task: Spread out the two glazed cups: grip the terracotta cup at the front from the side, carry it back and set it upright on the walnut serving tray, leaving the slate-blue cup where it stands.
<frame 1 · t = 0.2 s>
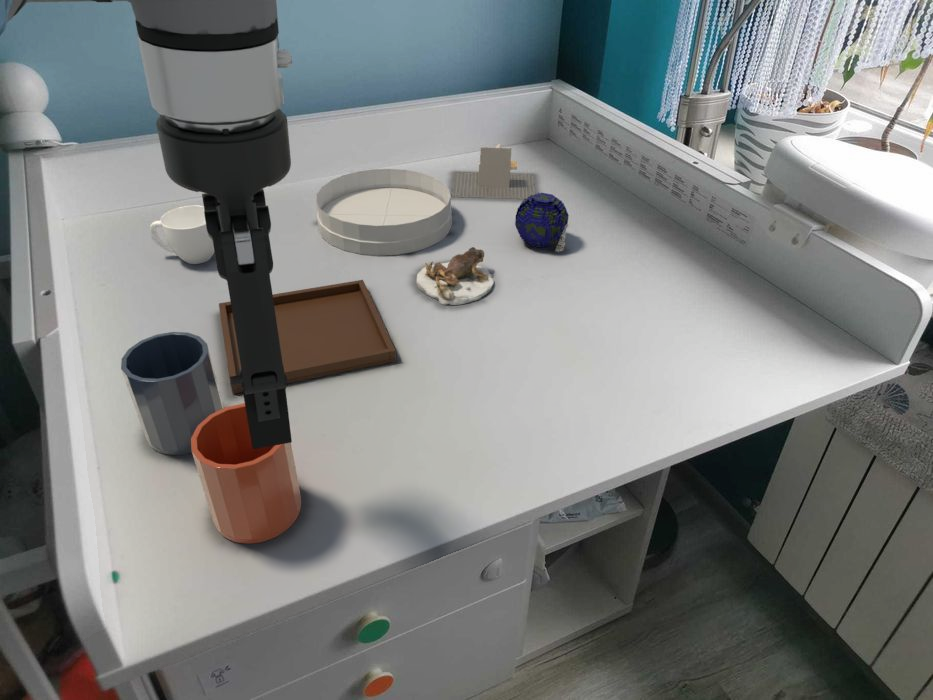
hand: (261, 382, 54), 18 cm above the table, tool pointing down, fingers open, 13 cm apart
frog figurine: (455, 282, 102), on the table
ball: (540, 243, 112), on the table
tray: (305, 336, 90), on the table
slate cup: (187, 428, 76), on the table
terracotta cup: (258, 509, 67), on the table
architectural model: (493, 185, 130), on the table
dish: (385, 224, 116), on the table
cup: (190, 258, 106), on the table
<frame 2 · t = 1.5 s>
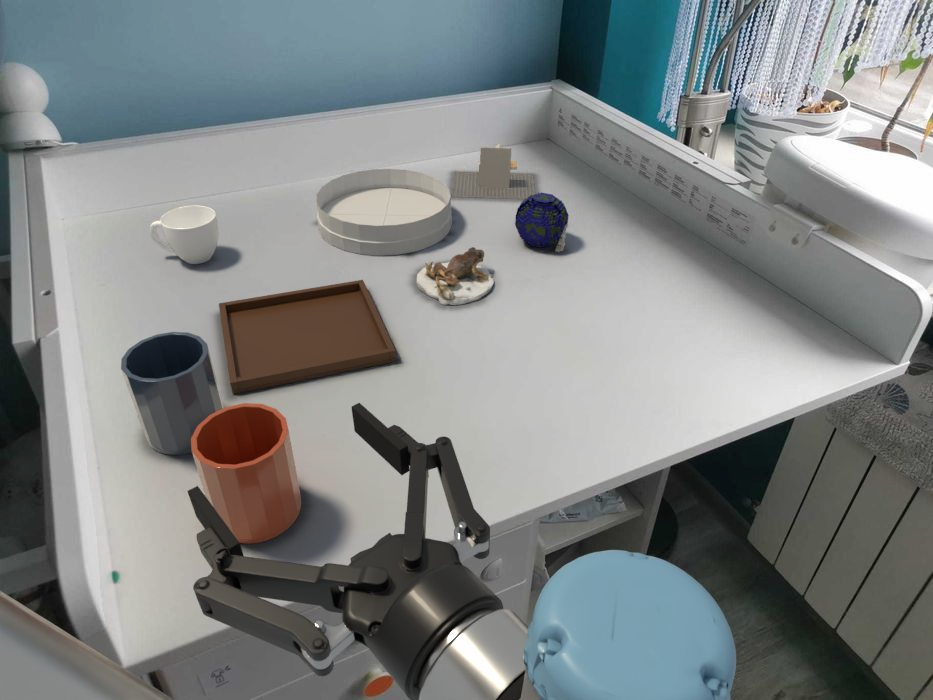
hand: (281, 456, 53), 14 cm above the table, tool horizontal, fingers open, 13 cm apart
nothing on the table moved.
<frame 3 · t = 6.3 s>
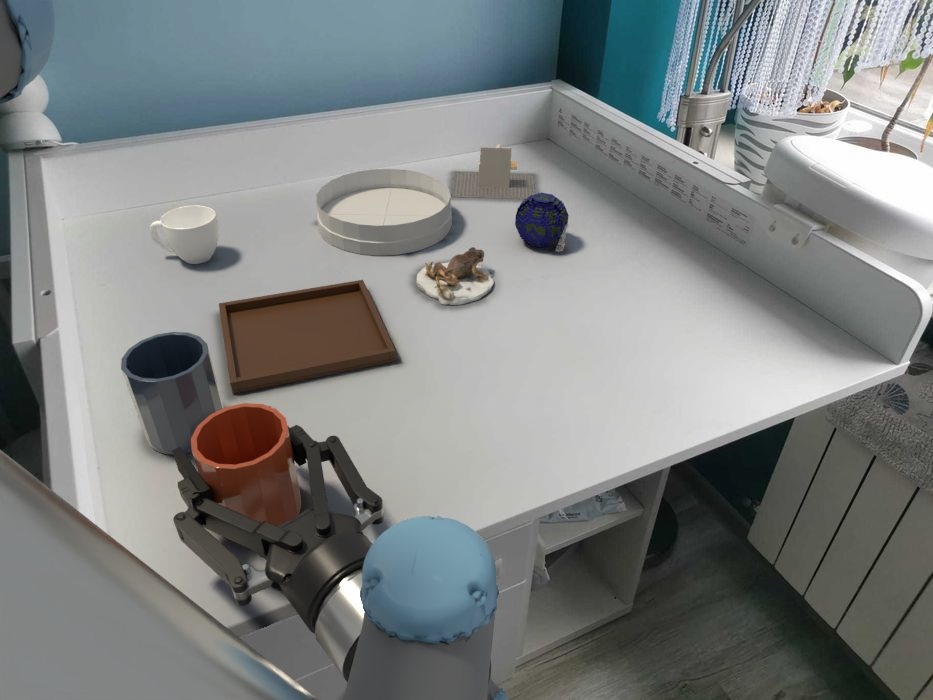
hand: (225, 437, 67), 6 cm above the table, tool horizontal, fingers closed on terracotta cup, 8 cm apart
terracotta cup: (258, 509, 67), on the table, touching gripper
everything else where it was.
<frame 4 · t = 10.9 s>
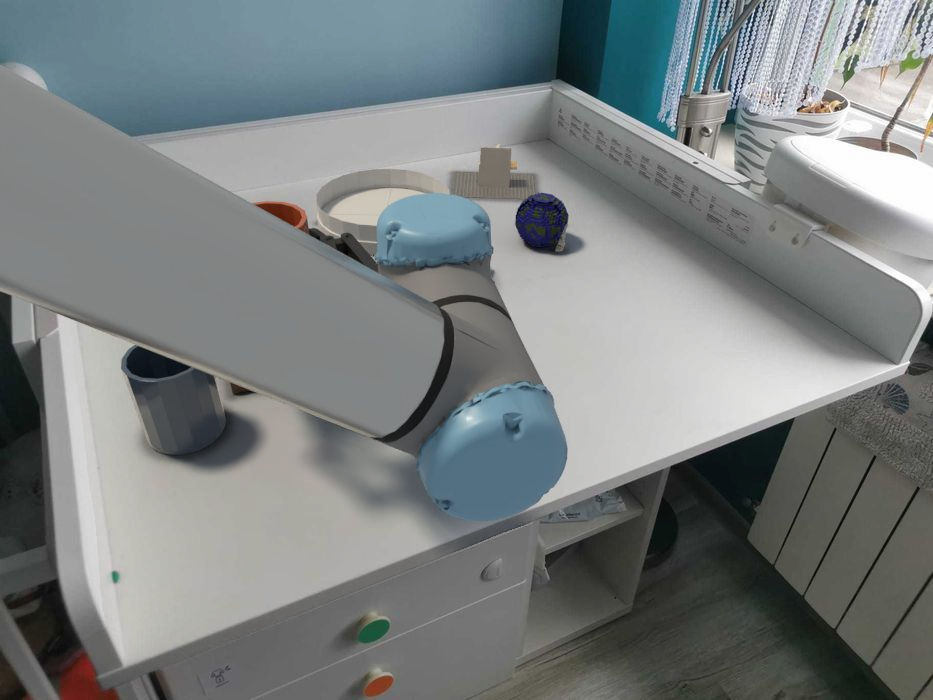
hand: (249, 237, 73), 18 cm above the table, tool horizontal, fingers closed on terracotta cup, 8 cm apart
terracotta cup: (278, 304, 74), point 12 cm above the table, touching gripper
everything else where it was.
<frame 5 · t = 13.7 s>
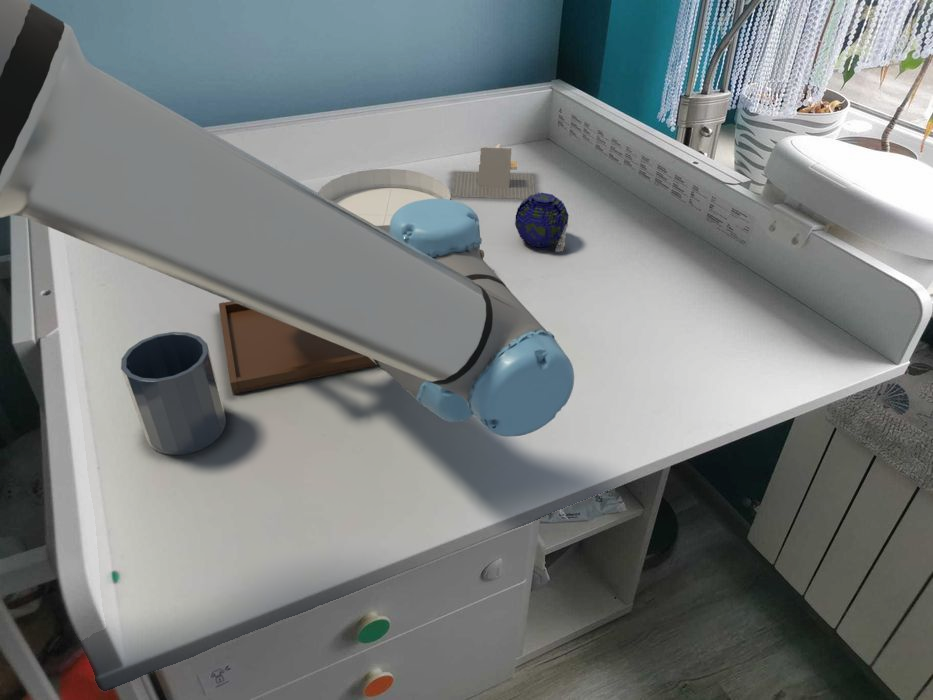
hand: (273, 235, 85), 13 cm above the table, tool horizontal, fingers closed on terracotta cup, 8 cm apart
terracotta cup: (299, 293, 86), point 7 cm above the table, touching gripper
everything else where it was.
when the fingers open (6 cm above the table, at t = 15.9 s): terracotta cup stays where it is, resting on tray.
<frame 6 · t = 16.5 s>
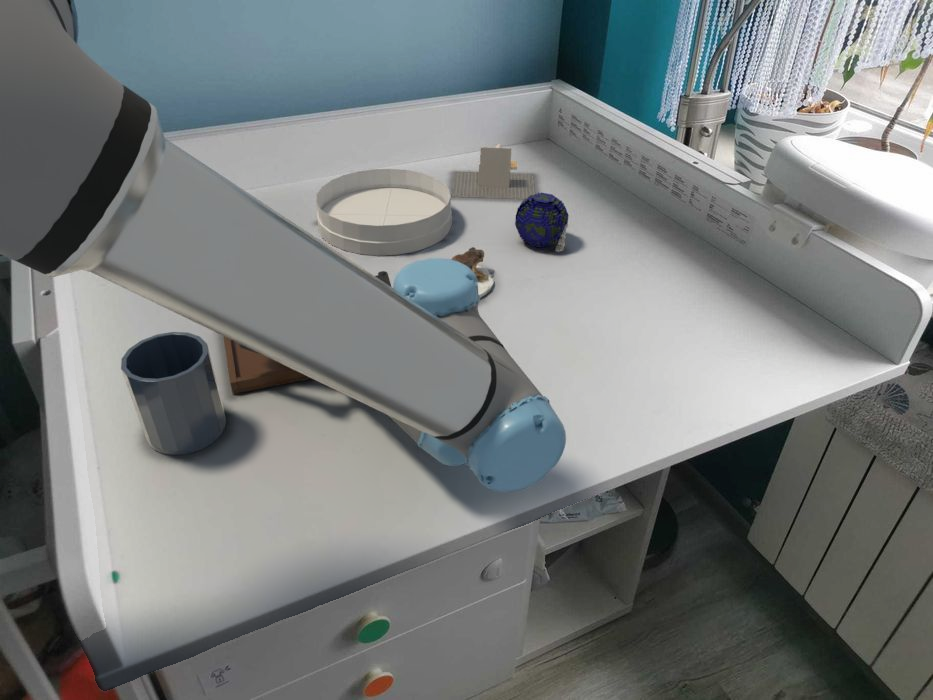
hand: (285, 280, 88), 7 cm above the table, tool horizontal, fingers open, 13 cm apart
terracotta cup: (305, 333, 90), resting on tray
everything else where it was.
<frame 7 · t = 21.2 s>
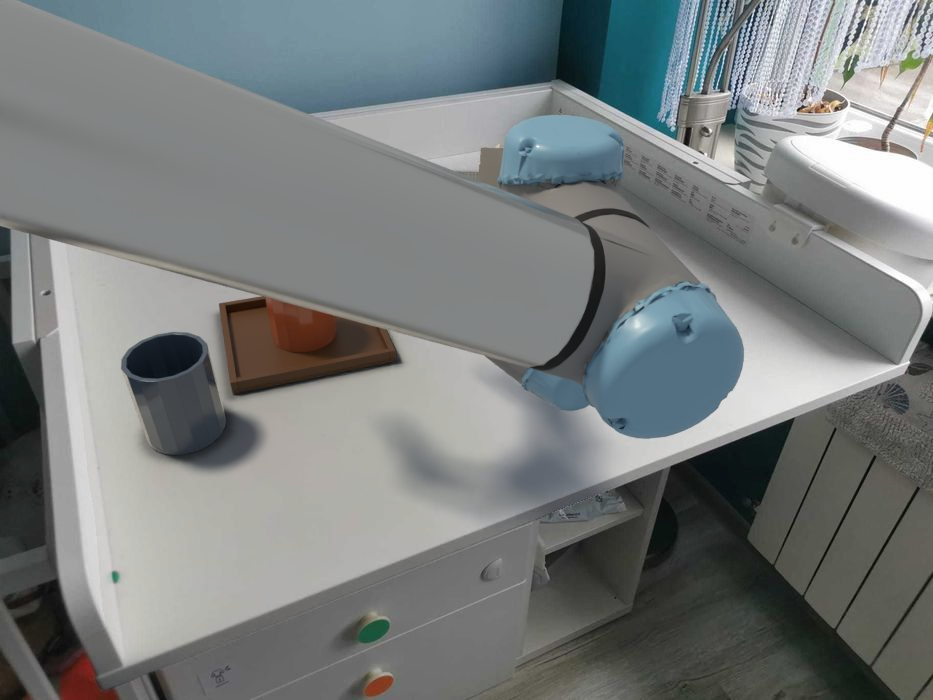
hand: (324, 194, 70), 23 cm above the table, tool horizontal, fingers open, 13 cm apart
nothing on the table moved.
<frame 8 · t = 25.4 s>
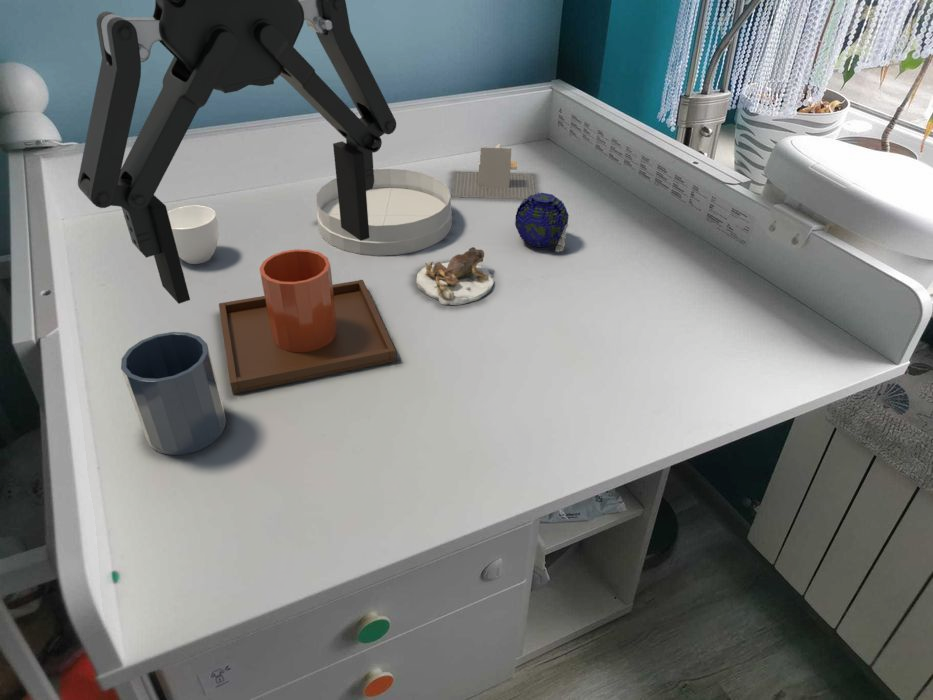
hand: (272, 261, 49), 29 cm above the table, tool pointing down, fingers open, 13 cm apart
nothing on the table moved.
at the end: terracotta cup inside the target area in the tray (0.1 cm from its centre), point 0.5 cm above the tray's base; terracotta cup tilted 0°; slate cup moved 0.0 cm from its start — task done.
